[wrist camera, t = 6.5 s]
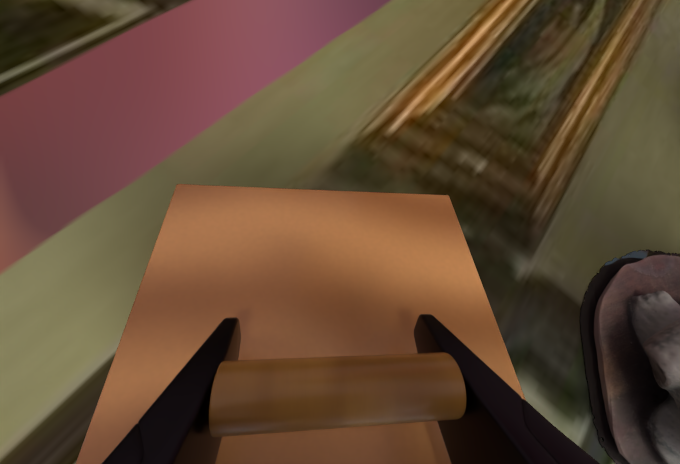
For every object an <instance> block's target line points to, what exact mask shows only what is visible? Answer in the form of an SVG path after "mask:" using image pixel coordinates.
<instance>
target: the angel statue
mask: <svg viewBox="0 0 680 464" xmlns="http://www.w3.org/2000/svg"><path fill="white" fill-rule="evenodd" d="M631 253H632V254H631ZM631 253H629V254H630V255H629V254H627V255H626V256H622V259H617V258H614V259H613V260H612V261H609V262H607V263H605V265H604V267H602V268H601V270H600V273H597V275H596V276H595V277H594V278H593V280H592V281H591V283H590V284H589V286H588V292H587V291H586V293H585V297H584V300H585V301H584V302H583V305H582V307H581V313H580V316H581V318H580V326H581V336H582V340H583V341H582V344H583V346H584V347H583V350H584V359H585V366H586V376H587V380H588V383H589V384H588V386H589V391H590V400H591V406H592V407H593V410H592V412H593V415H594V416H595V419H594V423H595V427H596V428H597V429H598V434H597V435H599V442H600V444H601V445H602V448H603V447H605V449H606V450H607V453H608V454H609V456H610V457H611V458H612V459H613V460H614V461H615V463H616V464H680V254H677V253H675V254H674V253H672V256H670V253H667V254H666V253H665V252H661V251H658V252H657V251H655V252H652V251H650V250H646V251H644V250H642V251H641V250H639V251H638V252H636V251H633V252H631ZM601 437H602V439H603V438H604V442H603V441H602V440H601ZM607 448H608V449H607ZM609 451H610V452H609Z"/></svg>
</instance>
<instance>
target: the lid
mask: <svg viewBox="0 0 680 464" xmlns="http://www.w3.org/2000/svg"><path fill="white" fill-rule="evenodd" d="M420 314H432V315H433V316H434V317H435V318H437V319H438V320H439V321H440V322H441V323H442V324H443V325H444V326H445V327H446V328H447V329H448V330H450V331H451V332H452V333H453V334H454V335H455V336H456V337H457V338H458V339H459V340H460V341H461V342H463V343H464V344H465V345H466V346H467V347H468V348H469V349H470V350H471V351H472V352H473V353H474V354H476V355H477V356H478V357H479V358H480V359H481V360H482V361H483V362H484V363H485V364H486V365H487V366H489V367H490V368H491V369H492V370H493V371H494V372H495V373H496V374H497V375H498V376H499V377H500V378H502V379H503V380H504V381H505V382H506V383H507V384H508V385H509V386H510V387H511V388H512V389H514V390H515V391H516V392H517V393H518V394H519V395H520V396H521V397H522V399H524V400H525V397H524V395H523V392H522V389H521V387H520V384H519V381H518V379H517V376H516V373H515V371H514V368H513V365H512V363H511V360H510V357H509V355H508V352H507V349H506V347H505V344H504V341H503V339H502V336H501V333H500V331H499V328H498V325H497V323H496V320H495V318H494V315H493V312H492V310H491V307H490V304H489V302H488V299H487V296H486V294H485V291H484V288H483V286H482V283H481V280H480V278H479V275H478V272H477V270H476V267H475V264H474V262H473V259H472V256H471V254H470V251H469V248H468V246H467V243H466V240H465V238H464V235H463V232H462V230H461V227H460V224H459V222H458V219H457V216H456V214H455V211H454V208H453V206H452V203H451V200H450V198H449V196H448V195H428V194H404V193H380V192H356V191H332V190H308V189H283V188H259V187H235V186H211V185H187V184H177V185H176V188H175V191H174V193H173V196H172V199H171V202H170V205H169V207H168V210H167V213H166V216H165V218H164V221H163V224H162V227H161V229H160V232H159V235H158V238H157V241H156V243H155V246H154V249H153V252H152V254H151V257H150V260H149V263H148V265H147V268H146V271H145V274H144V276H143V279H142V282H141V285H140V288H139V290H138V293H137V296H136V299H135V301H134V304H133V307H132V310H131V312H130V315H129V318H128V321H127V324H126V326H125V329H124V332H123V335H122V337H121V340H120V343H119V346H118V348H117V351H116V354H115V357H114V360H113V362H112V365H111V368H110V371H109V373H108V376H107V379H106V382H105V384H104V387H103V390H102V393H101V395H100V398H99V401H98V404H97V407H96V409H95V412H94V415H93V418H92V420H91V423H90V426H89V429H88V431H87V434H86V437H85V440H84V443H83V445H82V448H81V451H80V454H79V456H78V459H77V462H76V464H101V463H102V462H103V461H104V460H105V459H106V458H107V457H108V456H109V454H110V453H111V452H112V451H113V450H114V449H115V448H116V446H117V445H118V444H119V443H120V442H121V441H122V440H123V438H124V437H125V436H126V435H127V434H128V432H129V431H130V430H131V429H132V428H133V426H134V425H135V424H138V421H139V420H140V418H141V417H142V416H143V415H144V414H145V412H146V411H147V410H148V409H149V408H150V406H151V405H152V404H153V403H154V402H155V400H156V399H157V398H158V397H159V396H160V394H161V393H162V392H163V391H164V390H165V389H166V387H167V386H168V385H169V384H170V383H171V381H172V380H173V379H174V378H175V377H176V375H177V374H178V373H179V372H180V371H181V369H182V368H183V367H184V366H185V365H186V363H187V362H188V361H189V360H190V359H191V358H192V356H193V355H194V354H195V353H196V352H197V350H198V349H199V348H200V347H201V346H202V344H203V343H204V342H205V341H206V340H207V338H208V337H209V336H210V335H211V334H212V332H213V331H214V330H215V329H216V328H217V326H218V325H219V324H220V323H221V322H222V321H223V319H225V318H229V317H236V318H238V319H239V323H240V331H241V343H240V350H239V358H238V360H234V361H223V362H221V363H220V365H219V367H218V369H217V372H216V374H215V378H214V381H213V386H212V391H211V397H210V405H209V430H210V434H211V436H213V437H222V439H221V443H220V447H219V451H218V455H217V459H216V462H215V464H451V461H450V458H449V455H448V452H447V449H446V446H445V443H444V440H443V437H442V434H441V431H440V428H439V425H438V422H437V421H442V420H456V419H459V418H461V417H462V416H463V415H464V413H465V409H466V389H465V383H464V379H463V376H462V373H461V371H460V368H459V366H458V364H457V363H456V361H455V360H454V358H453V357H452V356H451V355H449V354H448V353H445V352H438V353H418V352H417V348H416V343H415V339H414V328H415V325H416V322H417V319H418V316H419V315H420Z"/></svg>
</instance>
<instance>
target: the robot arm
mask: <svg viewBox="0 0 680 464" xmlns="http://www.w3.org/2000/svg"><path fill="white" fill-rule="evenodd" d="M414 339H415V343H416V348H417V352H418V353H438V352H445V353H448V354H449V355H451V356H452V357H453V358H454V360H455V361H456V363H457V364H458V366H459V368H460V371H461V373H462V376H463V379H464V383H465V389H466V409H465V413H464V415H463V416H462V417H461V418H459V419H456V420H442V421H437V422H438V425H439V428H440V431H441V434H442V437H443V440H444V443H445V446H446V449H447V452H448V455H449V458H450V461H451V464H599V463H598V462H597V461H596V460H595V459H593V458H592V457H591V456H590V455H588V454H587V453H586V452H585V451H583V450H582V449H581V448H580V447H579V446H577V445H576V444H575V443H574V442H572V441H571V440H570V439H569V438H568V437H566V436H565V435H564V434H563V433H562V432H560V431H559V430H558V429H557V428H556V427H554V426H553V425H552V424H551V423H550V422H549V421H548V420H547V419H545V418H544V417H543V416H542V415H541V414H540V413H539V412H538V411H536V410H535V409H534V408H533V407H532V406H531V405H530V404H529V403H528V402H527V401H526V400H524V399H522V397H521V396H520V395H519V394H518V393H517V392H516V391H515V390H514V389H512V388H511V387H510V386H509V385H508V384H507V383H506V382H505V381H504V380H503V379H502V378H500V377H499V376H498V375H497V374H496V373H495V372H494V371H493V370H492V369H491V368H490V367H489V366H487V365H486V364H485V363H484V362H483V361H482V360H481V359H480V358H479V357H478V356H477V355H476V354H474V353H473V352H472V351H471V350H470V349H469V348H468V347H467V346H466V345H465V344H464V343H463V342H461V341H460V340H459V339H458V338H457V337H456V336H455V335H454V334H453V333H452V332H451V331H450V330H448V329H447V328H446V327H445V326H444V325H443V324H442V323H441V322H440V321H439V320H438V319H437V318H435V317H434V316H433V315H432V314H420V315H419V316H418V319H417V322H416V325H415V328H414ZM240 343H241V331H240V323H239V319H238V318H236V317H229V318H225V319H223V321H222V322H221V323H220V324H219V325H218V326H217V328H216V329H215V330H214V331H213V332H212V334H211V335H210V336H209V337H208V338H207V340H206V341H205V342H204V343H203V344H202V346H201V347H200V348H199V349H198V350H197V352H196V353H195V354H194V355H193V356H192V358H191V359H190V360H189V361H188V362H187V363H186V365H185V366H184V367H183V368H182V369H181V371H180V372H179V373H178V374H177V375H176V377H175V378H174V379H173V380H172V381H171V383H170V384H169V385H168V386H167V387H166V389H165V390H164V391H163V392H162V393H161V394H160V396H159V397H158V398H157V399H156V400H155V402H154V403H153V404H152V405H151V406H150V408H149V409H148V410H147V411H146V412H145V414H144V415H143V416H142V417H141V418H140V420H139V421H138V424H135V425H134V426H133V428H132V429H131V430H130V431H129V432H128V434H127V435H126V436H125V437H124V438H123V440H122V441H121V442H120V443H119V444H118V445H117V446H116V448H115V449H114V450H113V451H112V452H111V453H110V454H109V456H108V457H107V458H106V459H105V460H104V461H103V462H102V463H101V464H215V462H216V459H217V455H218V451H219V447H220V443H221V439H222V437H213V436H211V434H210V430H209V405H210V397H211V391H212V386H213V381H214V378H215V374H216V372H217V369H218V367H219V365H220V363H221V362H223V361H234V360H238V358H239V350H240Z"/></svg>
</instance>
